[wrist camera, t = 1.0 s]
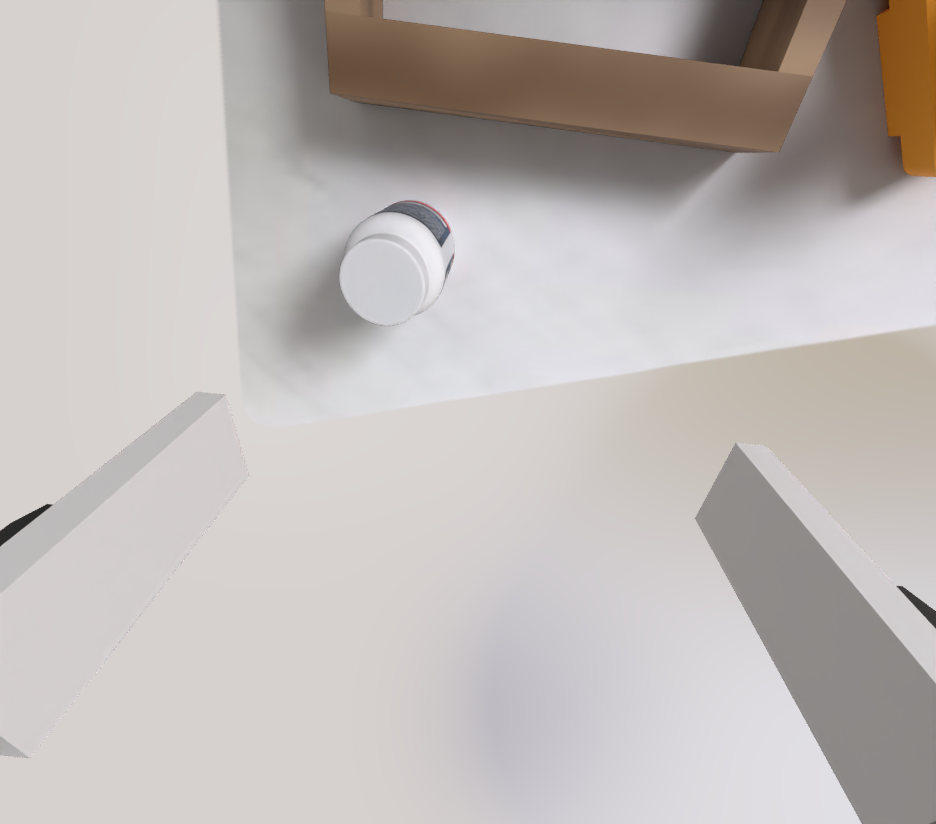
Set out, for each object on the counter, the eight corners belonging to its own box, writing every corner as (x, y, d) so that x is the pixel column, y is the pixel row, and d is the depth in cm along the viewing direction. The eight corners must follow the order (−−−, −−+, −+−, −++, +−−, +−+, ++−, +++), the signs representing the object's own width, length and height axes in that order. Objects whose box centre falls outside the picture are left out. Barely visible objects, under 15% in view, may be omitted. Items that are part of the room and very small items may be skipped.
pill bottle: (363, 207, 25) (306, 229, 17) (447, 192, 24) (424, 210, 17) (386, 292, 28) (344, 344, 20) (461, 282, 27) (447, 331, 19)
